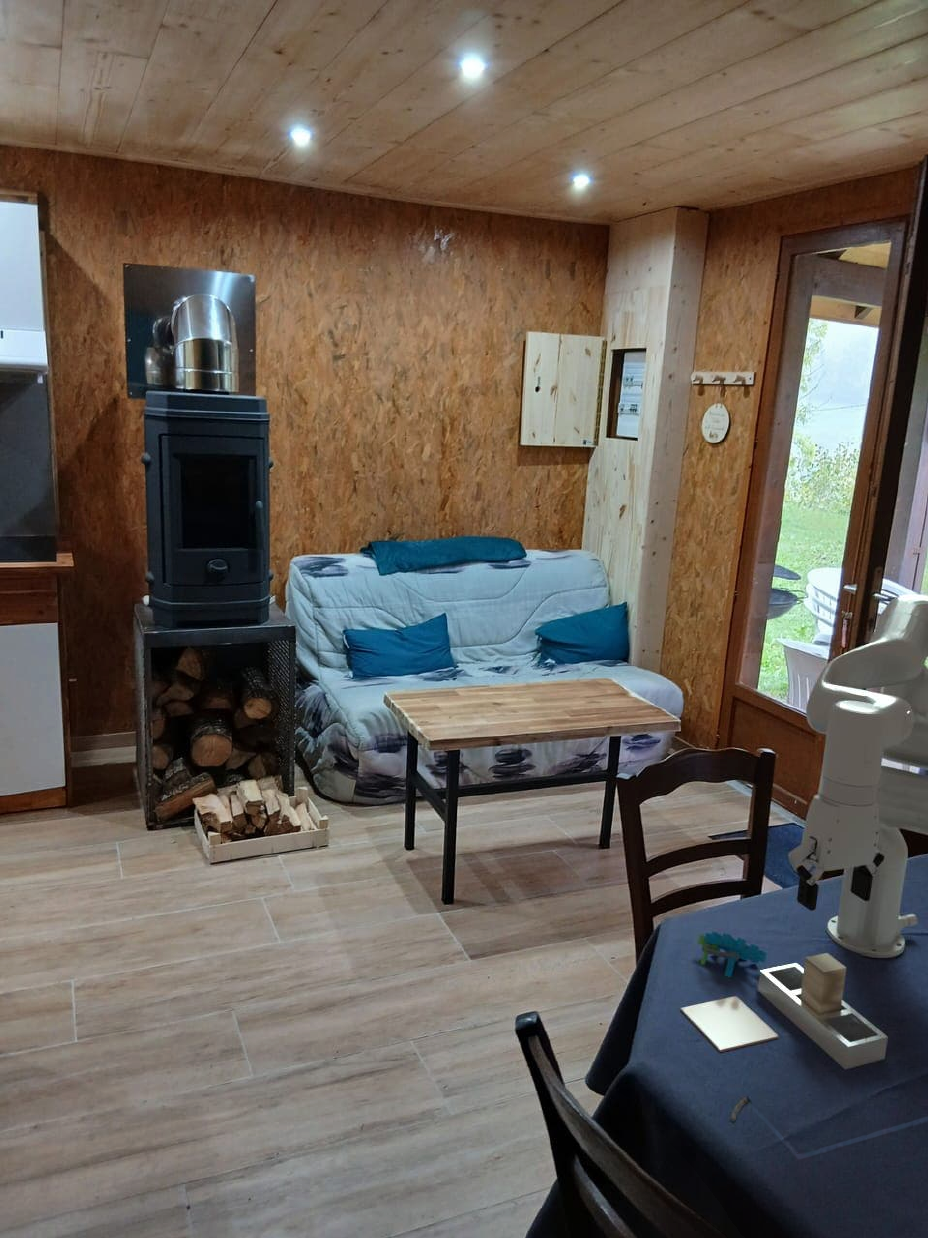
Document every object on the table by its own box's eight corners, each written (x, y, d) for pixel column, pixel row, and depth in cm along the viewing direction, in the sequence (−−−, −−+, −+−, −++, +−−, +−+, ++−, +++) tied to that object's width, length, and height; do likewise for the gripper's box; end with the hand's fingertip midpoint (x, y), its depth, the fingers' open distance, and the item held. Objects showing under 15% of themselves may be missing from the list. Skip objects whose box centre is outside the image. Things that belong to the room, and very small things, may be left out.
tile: (735, 1000, 145) (736, 996, 145) (777, 1040, 136) (778, 1036, 136) (680, 1013, 142) (680, 1008, 142) (720, 1055, 133) (720, 1050, 132)
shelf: (793, 985, 150) (796, 963, 149) (884, 1062, 132) (887, 1037, 132) (757, 993, 147) (760, 970, 146) (844, 1072, 130) (848, 1047, 129)
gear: (775, 960, 154) (757, 937, 147) (766, 996, 151) (748, 974, 145) (711, 944, 161) (691, 921, 154) (702, 978, 158) (681, 956, 151)
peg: (819, 1012, 142) (827, 953, 140) (838, 1028, 139) (846, 967, 136) (797, 1017, 141) (805, 957, 139) (816, 1033, 137) (824, 972, 135)
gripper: (876, 774, 138) (861, 881, 142) (780, 785, 132) (767, 897, 136) (916, 793, 131) (899, 905, 135) (817, 806, 125) (802, 923, 129)
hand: (833, 901), depth 135 cm, fingers open, 9 cm apart
